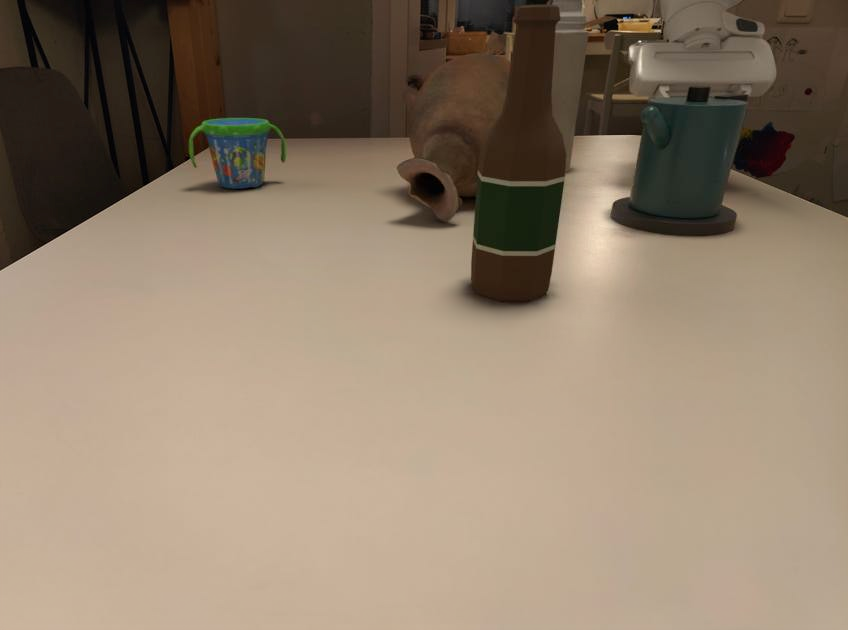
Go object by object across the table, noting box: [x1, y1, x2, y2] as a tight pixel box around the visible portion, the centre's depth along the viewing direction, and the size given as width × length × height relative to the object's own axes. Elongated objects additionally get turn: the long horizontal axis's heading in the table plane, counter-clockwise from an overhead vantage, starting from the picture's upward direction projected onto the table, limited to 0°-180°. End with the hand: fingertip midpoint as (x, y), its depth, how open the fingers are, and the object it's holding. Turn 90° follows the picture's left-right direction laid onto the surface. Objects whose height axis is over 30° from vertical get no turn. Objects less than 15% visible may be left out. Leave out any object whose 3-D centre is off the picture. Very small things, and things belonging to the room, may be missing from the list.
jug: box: [396, 52, 511, 223], centre depth 88 cm, size 20×20×30 cm
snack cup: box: [188, 117, 287, 190], centre depth 100 cm, size 16×10×10 cm
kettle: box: [629, 86, 749, 218], centre depth 78 cm, size 21×11×15 cm, turn 123°
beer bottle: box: [470, 4, 566, 302], centre depth 54 cm, size 8×8×24 cm
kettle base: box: [610, 196, 738, 237], centre depth 81 cm, size 15×15×2 cm
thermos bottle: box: [551, 0, 589, 173], centre depth 106 cm, size 8×8×28 cm
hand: (704, 115), depth 91 cm, fingers open, 8 cm apart
